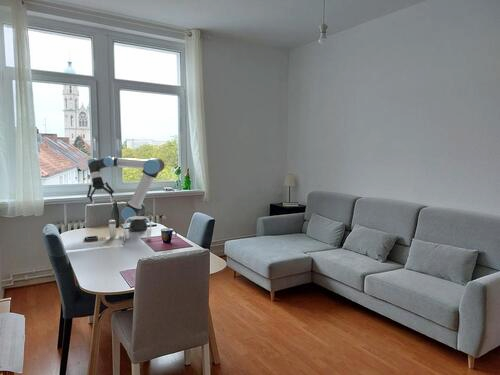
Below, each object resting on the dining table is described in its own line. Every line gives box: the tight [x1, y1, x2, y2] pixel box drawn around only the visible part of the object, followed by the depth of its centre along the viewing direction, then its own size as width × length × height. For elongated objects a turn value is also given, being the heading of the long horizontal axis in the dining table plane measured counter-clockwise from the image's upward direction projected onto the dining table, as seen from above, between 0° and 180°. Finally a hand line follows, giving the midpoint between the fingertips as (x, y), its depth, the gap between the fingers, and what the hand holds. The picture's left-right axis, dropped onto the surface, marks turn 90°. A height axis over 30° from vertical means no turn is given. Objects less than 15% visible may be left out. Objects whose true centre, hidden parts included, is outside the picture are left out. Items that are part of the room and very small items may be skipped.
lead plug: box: [108, 219, 117, 238], centre depth 262 cm, size 5×5×13 cm
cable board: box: [82, 235, 123, 243], centre depth 260 cm, size 26×10×4 cm, turn 115°
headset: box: [122, 216, 153, 240], centre depth 262 cm, size 20×7×18 cm, turn 105°
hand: (103, 203), depth 277 cm, fingers open, 13 cm apart
